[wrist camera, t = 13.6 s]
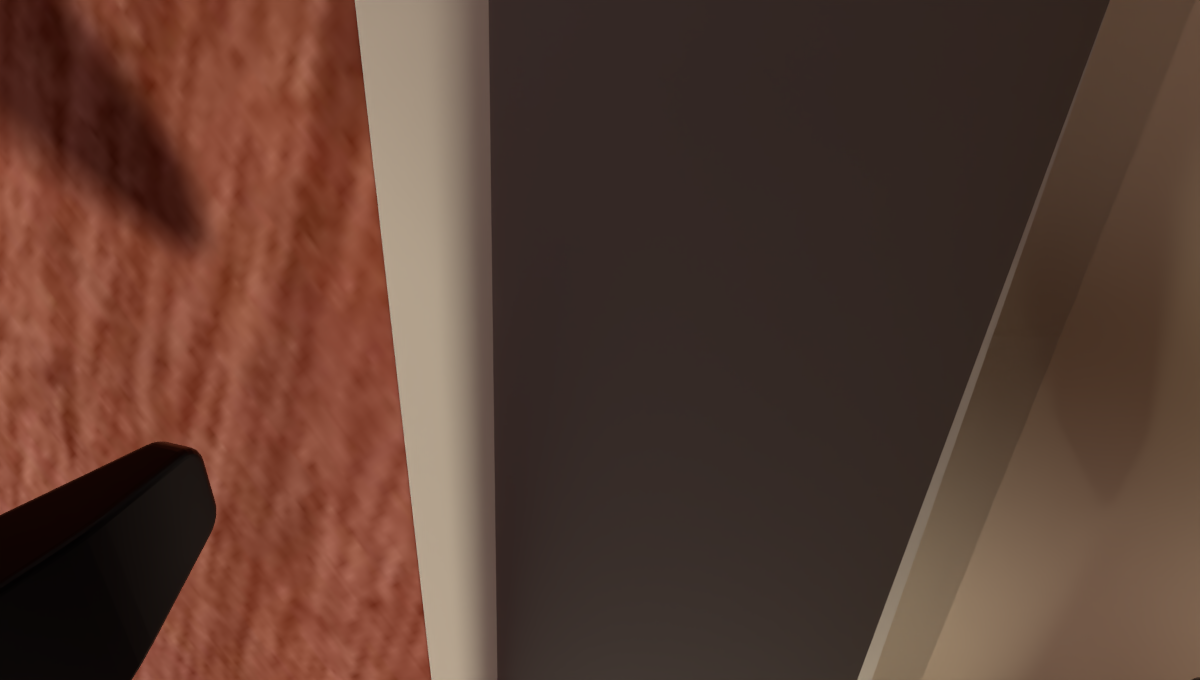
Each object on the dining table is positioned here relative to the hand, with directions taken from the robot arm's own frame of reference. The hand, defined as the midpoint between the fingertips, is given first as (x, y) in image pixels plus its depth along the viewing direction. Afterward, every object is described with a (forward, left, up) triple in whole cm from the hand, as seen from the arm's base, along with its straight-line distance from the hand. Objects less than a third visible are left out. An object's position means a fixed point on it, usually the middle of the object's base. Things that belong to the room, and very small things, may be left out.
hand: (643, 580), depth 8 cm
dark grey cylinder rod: (-2, 0, 0) cm, 2 cm away
